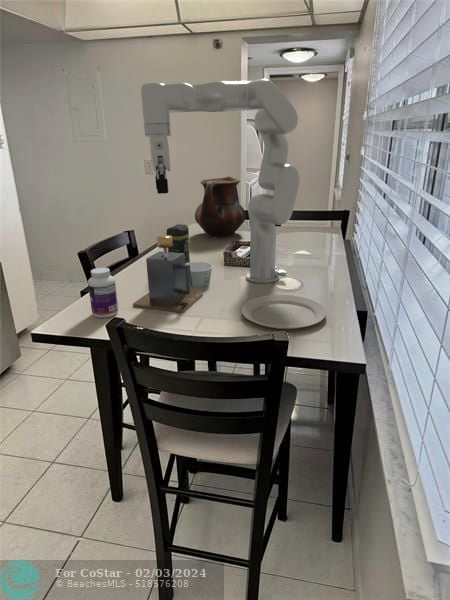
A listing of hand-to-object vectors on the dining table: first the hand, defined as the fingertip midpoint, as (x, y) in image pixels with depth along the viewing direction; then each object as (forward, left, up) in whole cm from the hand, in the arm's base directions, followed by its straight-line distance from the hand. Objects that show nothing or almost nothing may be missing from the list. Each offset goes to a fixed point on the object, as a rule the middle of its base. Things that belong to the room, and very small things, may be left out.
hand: (162, 191), depth 129 cm
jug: (+17, -97, -36) cm, 105 cm away
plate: (-39, 0, -37) cm, 53 cm away
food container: (-2, -20, -36) cm, 41 cm away
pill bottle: (+14, +16, -36) cm, 42 cm away
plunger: (0, 0, -34) cm, 34 cm away
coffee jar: (+11, -32, -36) cm, 49 cm away
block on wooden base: (0, 0, -36) cm, 36 cm away
